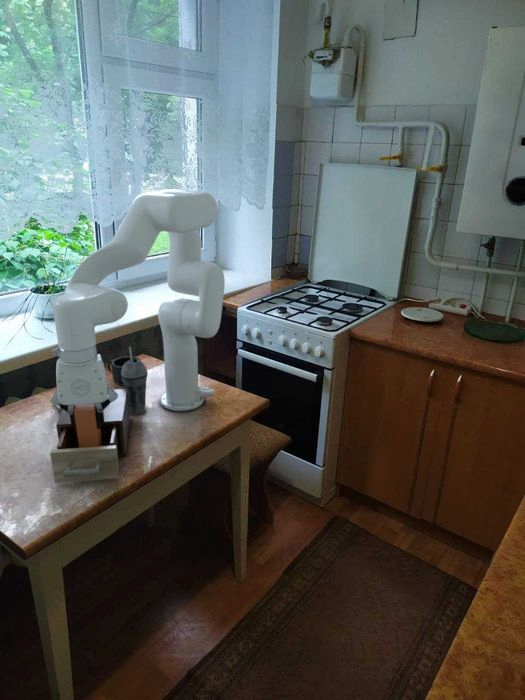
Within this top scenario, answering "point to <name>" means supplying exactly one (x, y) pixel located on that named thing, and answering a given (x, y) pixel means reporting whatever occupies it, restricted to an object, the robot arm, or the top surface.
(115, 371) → the mug
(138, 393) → the beverage cup
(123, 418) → the cabinet
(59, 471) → the drawer
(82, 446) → the block
